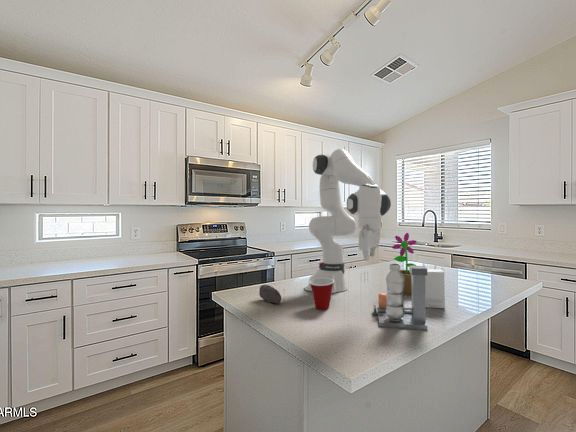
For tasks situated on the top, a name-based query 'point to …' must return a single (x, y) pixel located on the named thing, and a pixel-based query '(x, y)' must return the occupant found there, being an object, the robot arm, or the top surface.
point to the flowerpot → (401, 259)
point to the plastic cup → (321, 292)
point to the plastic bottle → (395, 293)
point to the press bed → (418, 304)
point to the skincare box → (434, 289)
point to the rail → (407, 310)
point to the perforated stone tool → (270, 294)
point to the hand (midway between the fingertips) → (369, 258)
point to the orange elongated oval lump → (382, 301)
